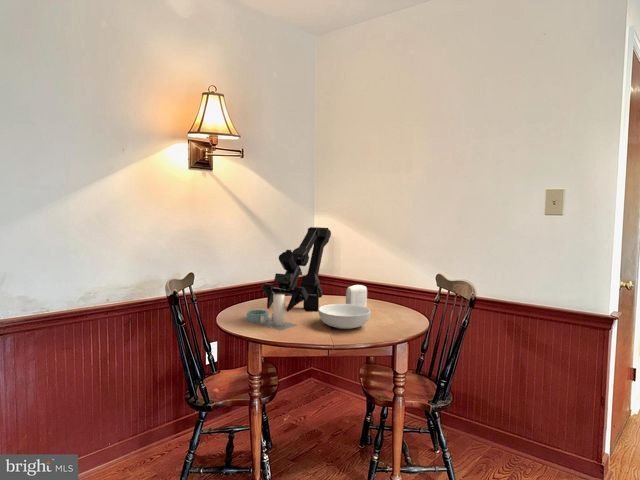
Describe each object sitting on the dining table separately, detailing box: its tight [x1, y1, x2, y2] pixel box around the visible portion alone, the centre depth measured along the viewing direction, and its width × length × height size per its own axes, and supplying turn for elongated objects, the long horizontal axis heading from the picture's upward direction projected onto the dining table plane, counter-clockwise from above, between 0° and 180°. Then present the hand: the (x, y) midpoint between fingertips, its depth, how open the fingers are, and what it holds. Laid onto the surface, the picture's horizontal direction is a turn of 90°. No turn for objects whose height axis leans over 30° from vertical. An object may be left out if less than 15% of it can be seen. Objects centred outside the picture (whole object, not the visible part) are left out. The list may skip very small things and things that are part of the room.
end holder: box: [246, 309, 269, 323], centre depth 182 cm, size 9×9×3 cm
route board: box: [239, 312, 297, 331], centre depth 179 cm, size 23×10×4 cm, turn 52°
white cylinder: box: [272, 293, 286, 326], centre depth 175 cm, size 4×4×12 cm
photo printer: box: [345, 284, 368, 308], centre depth 199 cm, size 10×4×12 cm, turn 123°
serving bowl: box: [317, 303, 371, 330], centre depth 177 cm, size 21×21×7 cm
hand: (277, 309), depth 173 cm, fingers open, 8 cm apart
